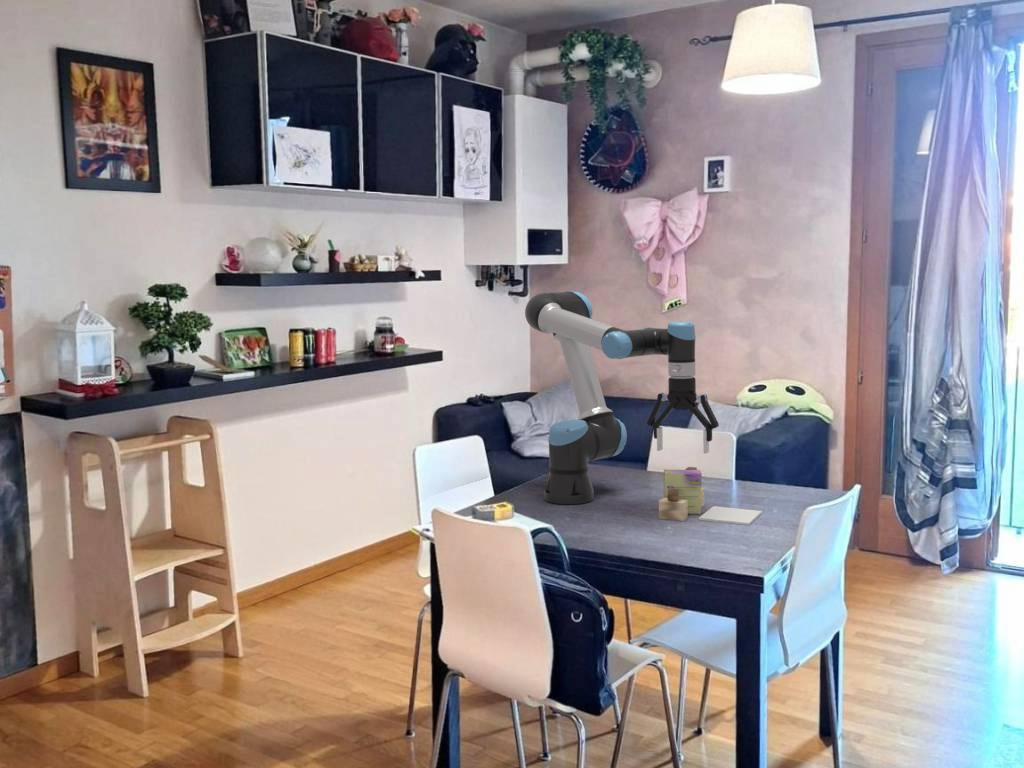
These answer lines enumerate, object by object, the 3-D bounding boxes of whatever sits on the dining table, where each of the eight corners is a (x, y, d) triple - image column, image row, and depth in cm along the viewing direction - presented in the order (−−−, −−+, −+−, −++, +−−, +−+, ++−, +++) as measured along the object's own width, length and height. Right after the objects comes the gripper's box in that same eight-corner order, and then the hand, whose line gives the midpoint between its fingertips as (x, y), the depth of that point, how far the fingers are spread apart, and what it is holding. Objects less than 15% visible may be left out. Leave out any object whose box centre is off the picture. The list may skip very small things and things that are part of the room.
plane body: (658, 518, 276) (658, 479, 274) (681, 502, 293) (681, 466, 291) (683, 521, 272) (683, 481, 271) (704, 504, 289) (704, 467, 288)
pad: (698, 519, 273) (698, 517, 273) (713, 508, 285) (713, 506, 285) (749, 525, 267) (749, 523, 266) (762, 513, 279) (762, 511, 279)
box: (699, 509, 285) (699, 468, 283) (701, 514, 279) (701, 473, 278) (663, 509, 286) (663, 469, 284) (664, 514, 280) (664, 473, 279)
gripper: (635, 377, 281) (636, 451, 283) (721, 379, 269) (722, 456, 272) (644, 374, 288) (645, 446, 290) (729, 376, 276) (729, 451, 278)
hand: (682, 451), depth 281 cm, fingers open, 13 cm apart
